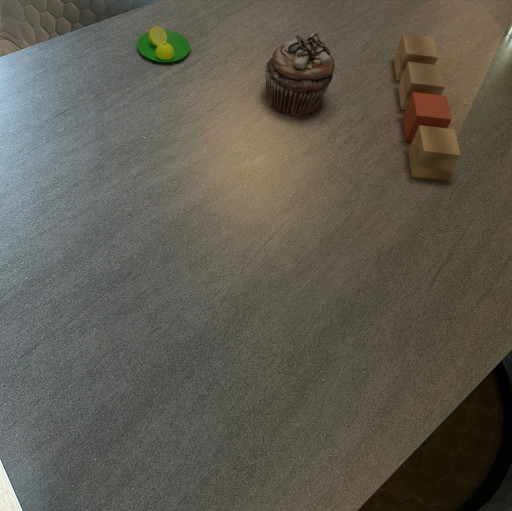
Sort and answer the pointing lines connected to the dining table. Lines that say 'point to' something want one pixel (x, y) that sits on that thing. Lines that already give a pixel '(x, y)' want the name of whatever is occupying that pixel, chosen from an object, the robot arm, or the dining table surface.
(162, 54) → the lemon
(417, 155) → the maple block
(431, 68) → the maple block
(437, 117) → the terracotta block
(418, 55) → the maple block
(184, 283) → the dining table surface
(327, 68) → the cupcake
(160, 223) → the dining table surface
